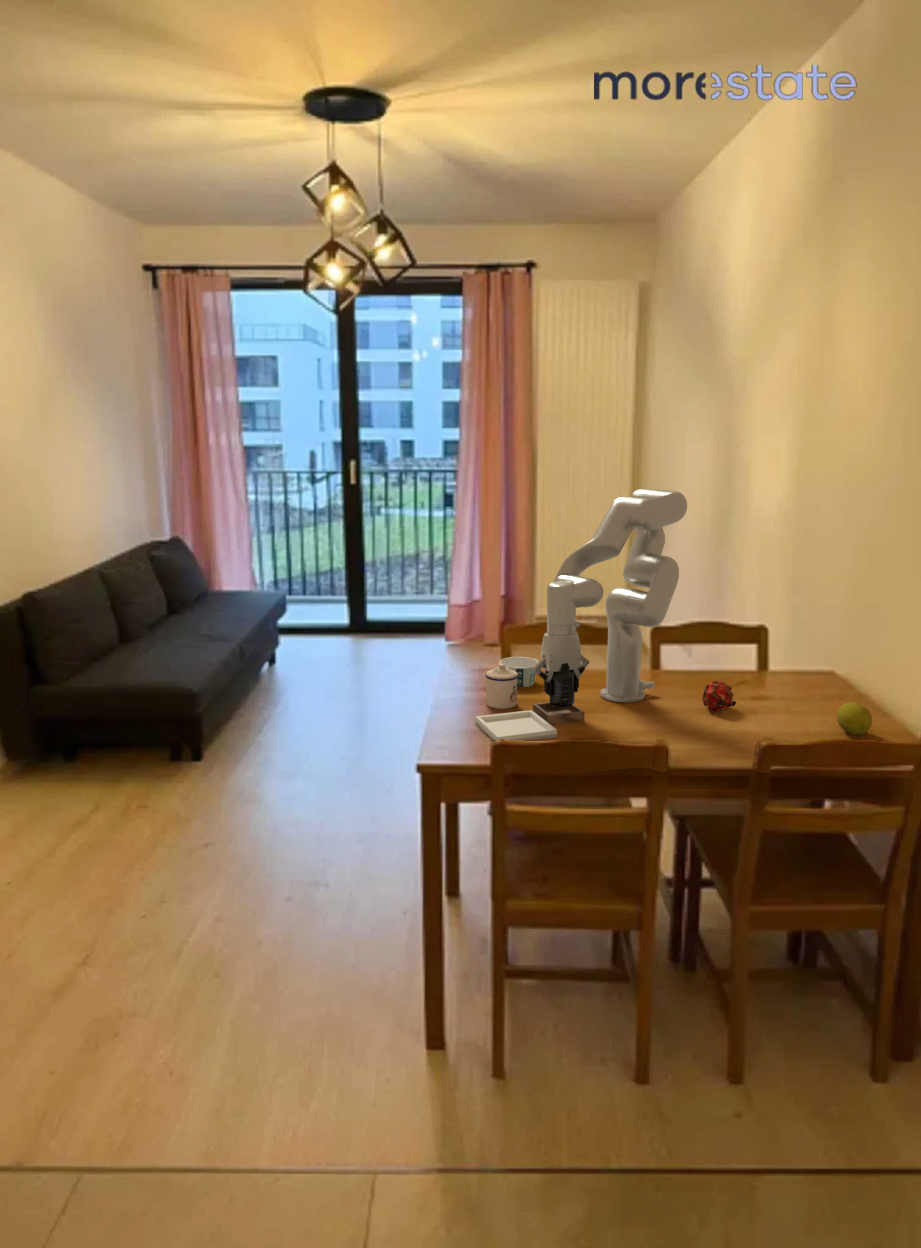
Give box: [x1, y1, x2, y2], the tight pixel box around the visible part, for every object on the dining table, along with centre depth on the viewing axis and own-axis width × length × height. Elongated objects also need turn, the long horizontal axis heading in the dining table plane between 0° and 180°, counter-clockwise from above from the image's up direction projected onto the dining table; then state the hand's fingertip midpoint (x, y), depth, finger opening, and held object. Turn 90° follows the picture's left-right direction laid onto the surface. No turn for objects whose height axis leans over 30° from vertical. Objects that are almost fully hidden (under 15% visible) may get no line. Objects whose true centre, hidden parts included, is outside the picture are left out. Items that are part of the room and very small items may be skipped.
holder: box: [532, 701, 586, 726], centre depth 245 cm, size 10×10×2 cm
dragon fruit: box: [701, 680, 737, 714], centre depth 251 cm, size 8×8×12 cm
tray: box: [474, 709, 558, 741], centre depth 235 cm, size 16×16×2 cm
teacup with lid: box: [485, 663, 518, 710], centre depth 256 cm, size 12×9×12 cm
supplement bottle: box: [548, 663, 576, 707], centre depth 244 cm, size 7×7×12 cm
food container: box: [499, 656, 540, 688], centre depth 275 cm, size 12×12×6 cm
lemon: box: [836, 701, 873, 736], centre depth 233 cm, size 11×8×8 cm
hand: (561, 692), depth 245 cm, fingers closed on supplement bottle, 6 cm apart
